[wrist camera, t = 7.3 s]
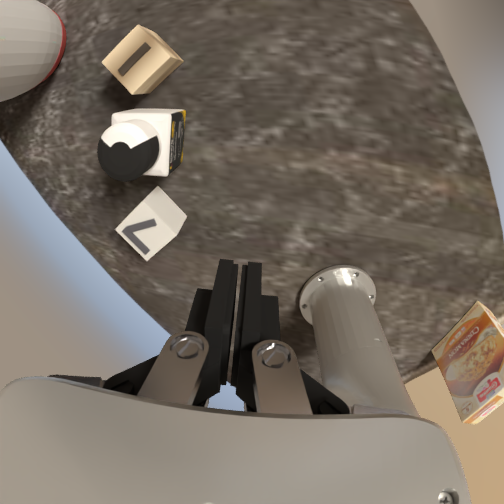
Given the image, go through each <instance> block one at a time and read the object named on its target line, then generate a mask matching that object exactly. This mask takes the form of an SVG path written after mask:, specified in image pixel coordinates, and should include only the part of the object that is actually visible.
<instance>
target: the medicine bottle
mask: <svg viewBox="0 0 504 504" xmlns="http://www.w3.org/2000/svg"><path fill="white" fill-rule="evenodd" d="M185 115H186V111H185V110H181V109H132V110H127V111H122V112H118V113H114V114H113V115H112V126H111V127H109V128H108V129H107V130H106V131H105V132H104V133H103V135H102V136H101V138H100V140H99V143H98V151H97V153H98V160H99V163H100V165H101V167H102V169H103V170H104V171H105V172H106V174H108V175H109V176H110V177H111V178H113V179H115V180H118V181H125V182H127V181H132V180H135V179H137V178H139V177H140V176H142V175H152V176H168V175H169V174H170V173H171V172H172V171H173V170H174V169H175V168H176V167H177V166H178V165H179V164H180V163H181V162H182V158H183V142H184V128H185Z"/></svg>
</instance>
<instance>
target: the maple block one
mask: <svg viewBox="0 0 504 504" xmlns="http://www.w3.org/2000/svg"><path fill="white" fill-rule="evenodd" d="M183 62H184V61H183V60H182V59H181V58H180V57H179V56H178V55H177V54H176V53H175V52H174V51H173V50H172V49H171V48H170V47H169V46H168V45H167V44H166V43H165V42H164V41H163V40H162V39H161V38H160V37H159V36H158V35H157V34H156V33H155V32H153V31H151V30H149V29H147V28H145V27H142V26H140V25H137V26H136V27H135V28H134V29H133V30H132V31H131V32H130V33H129V34H128V35H127V36H126V37H125V38H124V39H123V40H122V41H121V42H120V43H119V44H118V45H117V46H116V47H115V48H114V49H113V50H112V51H111V53H110V54H109V55H108V56H107V57H106V58H105V59H104V60H103V61H102V63H103V64H104V65H105V66H106V67H107V69H108V70H109V71H110V72H111V73H112V74H113V75H114V76H115V77H116V78H117V79H118V80H119V81H120V82H121V83H122V84H123V85H124V86H125V87H126V89H127V90H128V91H129V92H130V93H131V94H132V95H134V94H146V93H151V92H152V91H153V90H154V89H155V88H156V87H157V86H158V85H159V84H160V83H161V82H162V81H163V80H164V79H165V78H166V77H167V76H168V75H169V74H171V73H172V72H173V71H174V70H175V69H176V68H177V67H178V66H179V65H181V64H182V63H183Z"/></svg>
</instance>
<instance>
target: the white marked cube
mask: <svg viewBox="0 0 504 504" xmlns="http://www.w3.org/2000/svg"><path fill="white" fill-rule="evenodd" d="M186 218H187V216H186V215H185V214H184V213H183V211H182V210H181V209H180V208H179V207H178V206H177V205H176V204H175V203H174V202H173V201H172V200H171V199H170V198H169V197H168V196H167V195H166V194H165V193H164V192H163V190H162V189H161V188H160V187H159V186H157V187H156V188H155V189H154V190H153V191H152V192H151V193H150V194H149V195H148V196H147V197H146V198H145V199H144V200H143V201H142V202H141V203H140V204H139V205H138V206H137V207H136V208H135V209H134V210H133V211H132V212H131V213H130V214H129V215H128V216H127V217H126V218H125V219H124V220H123V221H122V223H121V224H120V225H119V226H118V227H117V228H116V229H115V230H116V231H117V232H118V233H119V234H120V235H121V236H122V237H123V238H124V239H125V240H126V241H127V242H128V243H129V244H130V245H131V246H132V247H133V248H134V249H135V250H136V251H137V252H138V253H139V254H140V255H141V256H142V257H143V258H144V259H145V260H146V261H148V260H149V259H150V258H151V257H152V256H153V255H154V254H156V253H157V252H158V251H159V250H160V249H161V248H163V247H164V246H165V245H166V244H167V243H168V242H170V241H171V240H172V239H173V238H174V237H175V236H177V234H178V232H179V230H180V228H181V227H182V225H183V223H184V221H185V219H186Z"/></svg>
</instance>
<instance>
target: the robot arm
mask: <svg viewBox="0 0 504 504" xmlns="http://www.w3.org/2000/svg"><path fill="white" fill-rule="evenodd" d="M261 273H262V263H255V262H248V265H243V266H242V275H241V284H240V293H239V303H238V312H237V321H236V331H235V342H234V353H233V365H232V376H231V386H236V395H237V396H238V397H239V398H240V399H241V400H243V401H244V410H245V411H244V412H243V411H233V410H223V409H215V408H207V406H208V403H209V398H210V397H212V396H214V395H215V394H217V393H218V392H220V385H226V381H227V373H228V364H229V355H230V346H231V338H232V329H233V321H234V310H235V298H236V286H237V275H238V264H233V260H226V259H220V261H219V265H218V270H217V274H216V278H215V283H214V287H213V290H208V289H199V288H198V289H197V291H196V294H195V298H194V301H193V305H192V308H191V311H190V315H189V318H188V322H187V325H186V329H185V331H181V332H178V333H175V334H173V335H172V336H170V337H169V339H168V340H167V341H166V343H165V345H164V347H163V349H162V350H161V352H160V354H159V355H157V356H155V357H153V358H151V359H149V360H147V361H145V362H143V363H140V364H138V365H136V366H134V367H132V368H129V369H127V370H125V371H123V372H121V373H118V374H116V375H114V376H112V377H111V378H109V379H108V380H102V379H101V377H82V376H68V375H50V376H47V377H43V376H35V377H24V378H19V379H16V380H14V381H11V382H10V383H9V384H7V385H6V386H5V387H4V388H3V389H2V390H1V391H0V504H471V500H470V494H469V490H468V486H467V482H466V478H465V475H464V471H463V468H462V465H461V462H460V459H459V456H458V454H457V451H456V449H455V447H454V445H453V443H452V440H451V439H450V437H449V436H448V434H447V432H446V431H445V430H444V429H443V428H442V427H441V426H439V425H438V424H436V423H434V422H432V421H430V420H427V419H424V418H421V417H420V415H419V413H418V412H417V410H416V408H415V406H414V404H413V402H412V400H411V399H410V396H409V395H408V392H407V390H406V388H405V386H404V383H403V381H402V378H401V376H400V373H399V371H398V368H397V365H396V363H395V360H394V357H393V355H392V352H391V350H390V347H389V345H388V342H387V339H386V337H385V334H384V332H383V329H382V327H381V324H380V322H379V319H378V317H377V315H376V312H375V310H374V307H373V305H374V302H375V298H376V289H375V285H374V283H373V281H372V279H371V277H370V276H369V275H368V274H367V273H366V272H365V271H363V270H362V269H360V268H357V267H354V266H349V265H337V266H332V267H329V268H326V269H324V270H321V271H320V272H318V273H316V274H315V275H314V276H312V277H311V278H310V279H309V280H308V281H307V283H306V284H305V285H304V287H303V289H302V291H301V294H300V299H299V304H300V310H301V313H302V315H303V317H304V319H305V320H306V321H307V322H308V323H310V324H311V325H313V329H314V335H315V341H316V347H317V353H318V359H319V365H320V372H321V378H322V384H323V386H322V385H321V384H320V383H318V382H317V381H316V380H314V379H313V378H311V377H310V376H309V375H307V374H306V373H305V372H303V371H302V370H301V369H299V365H298V362H297V358H296V355H295V353H294V351H293V349H292V348H291V347H290V346H289V345H287V344H286V343H284V342H281V341H280V324H279V306H278V297H277V296H267V295H261Z"/></svg>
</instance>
